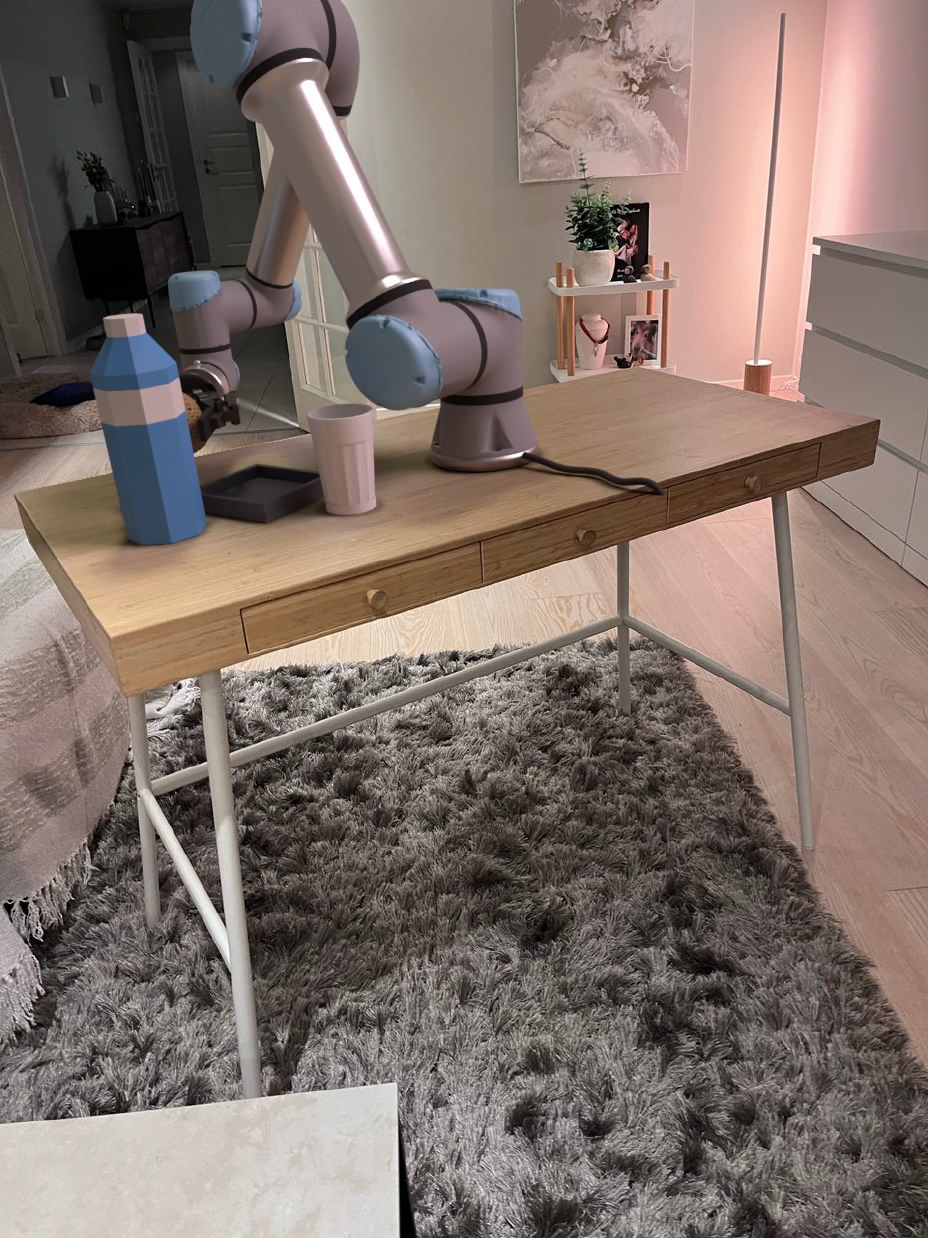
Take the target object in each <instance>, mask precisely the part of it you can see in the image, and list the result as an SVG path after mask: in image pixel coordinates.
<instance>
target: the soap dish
mask: <svg viewBox="0 0 928 1238" xmlns="http://www.w3.org/2000/svg"><path fill="white" fill-rule="evenodd" d="M200 490H201V495H202V501H203V506H204V511H205V514H212V515H218V516H222V517H223V516H224V517H228V518H229V517H230V518H235V519H241V520H246V521H247V520H248V521H252V522H253V521H254V522H260V523H267V524H268V523H270V522H272V521H274V520H276V519H278V518H280V517H282V516H284V515H286V514H288V513H290V512H292V511H295V510H296V509H299V508H300V507H303V506H305V505H307V504H309V503H311V502H313V501H315V500H317V499H320V498H323V497H324V493H323V488H322V483H321V479H320V474H319V470H310V469H301V468H293V467H287V466H286V467H285V466H278V465H269V464H262V463H255V464H252V465H250V466H249V465H248V466H247V467H245V468H242V469H240V470H237V471H235V472H234V471H233V472H231V473H230V474H227V475H225V476H222V477H219V478H217V479H215V480H211V481H210V482H207V483H204V484H202V485H200Z"/></svg>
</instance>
